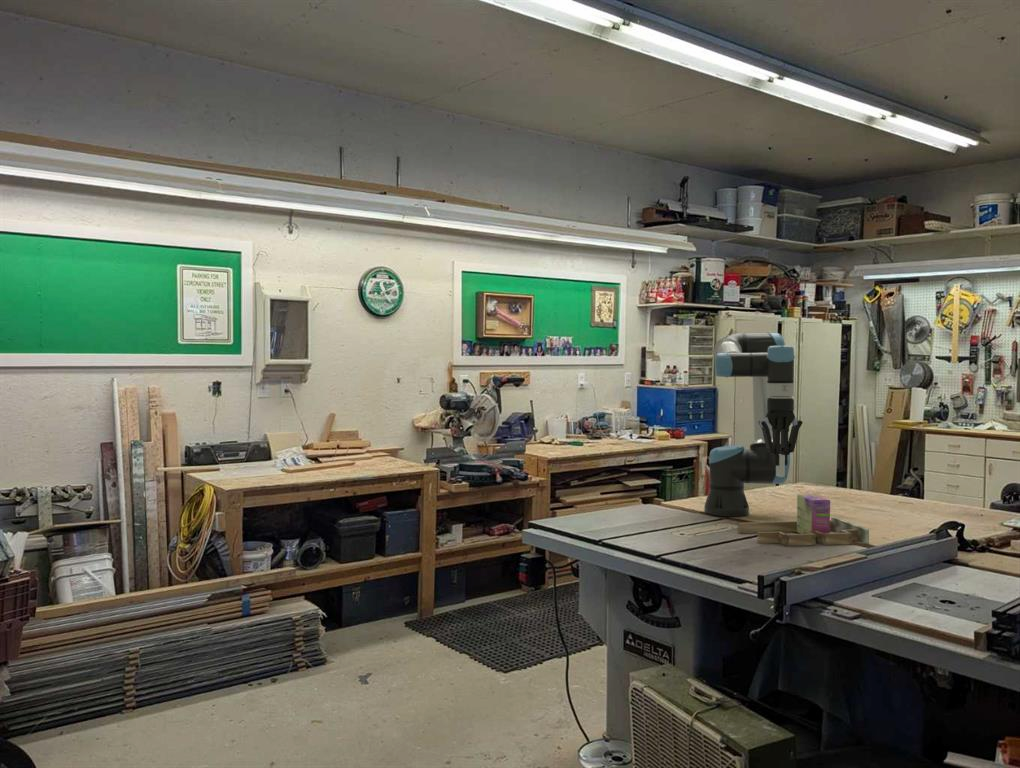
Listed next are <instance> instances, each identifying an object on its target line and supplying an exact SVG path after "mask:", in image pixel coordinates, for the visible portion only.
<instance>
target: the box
mask: <svg viewBox="0 0 1020 768" xmlns="http://www.w3.org/2000/svg"><path fill="white" fill-rule="evenodd" d="M796 502H797V503H796V521H797V532H796V533H797V534H804V531H819V532H822V533H831V531H830V520H831V500H830V499H827V498H825V497H823V496H819V495H817V494H814V493H813V494H812V493H807V494H806V493H805V494H804V493H801V494H799V493H798V494H797V496H796Z"/></svg>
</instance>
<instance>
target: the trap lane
mask: <svg viewBox="0 0 1020 768" xmlns="http://www.w3.org/2000/svg"><path fill="white" fill-rule="evenodd" d="M737 523H738V524H737V528H738V529H737V532H738V533H737V534H753V533H754V534H755V533H756V535H757V536H756V537H757V543H758V544H777V543H779V544H781V545H782V546H785V547H787V546H788V547H790V546H792V547H794V546H796V547H797V546H816V545H817V544H820V545H823V546H824V545H825V546H826V545H829V546H831V545H853V541H858V542H861V543H863V542H864V543H863V544H869V543H870V529H869V528H866V527H863V526H860V525H857V524H855V523H852V522H850V521H846V520H845V519H844V520H843V519H841V518H838V517H836V516H830V533H822V532H819V531H804V534H800V533H798V532H797V520H796V521H795V520H793V521H788V520H787V521H761V522H760V521H754V522H753V521H751V522H749V521H748V522H737ZM832 531H833V532H832ZM789 532H791V534H787V533H789ZM792 532H793V534H792ZM794 532H796V533H795V534H794ZM816 543H817V544H816Z"/></svg>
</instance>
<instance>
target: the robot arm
mask: <svg viewBox="0 0 1020 768" xmlns="http://www.w3.org/2000/svg"><path fill="white" fill-rule="evenodd" d="M794 350H795V349H794V347H793V346H792V345H786V343H785V339H784V337H783V335H782V334H780V333H778V332H777V333H776V332H757V333H756V332H752V333H751V332H750V333H749V332H748V333H747V332H746V333H741V332H740V333H733V334H729V335H727V336H724V337H722V338H720V339H719V340H718V341H717V342H715V344H714V347H713V357H714V370H715V375H716V376H717V377H722V378H723V377H724V378H740V377H741V378H743V377H747V378H748V377H750V378H751V377H752V401H753V403H752V405H753V408H752V409H753V438H754V439H753V441H752V442H751V443H750V444H749V449H745V447H744V445H741V444H739V445H737V444H736V445H726V446H725V445H724V446H718V447H714V448H713V449H711V450H710V452H709V458H708V459H709V461H708V464H709V478H708V479H709V480H708V481H709V487H708V488H709V489H708V490H709V491H708V494H707V496H706V500H705V503H704V505H703V511H704V513H705V514H707V515H708V514H709V515H712V516H718V517H719V516H721V517H743V516H747V515H749V514H750V506H749V502H748V500H747V497H746V494H745V484H761V485H762V484H763V485H766V484H768V485H779V484H780V485H782V484H785V483H786V481H787V480H788V476H789V471H790V464H791V453H794V452H795V447H796V444H797V440H798V436H799V432H800V431H799V430H800V428H801V427H802V425H803V420H799V419H798V418H796V415H795V413H794V410H795V399H794V398H792V397H794V395H795V371H794V370H795V359H796V357H795V351H794ZM791 425H792V426H791ZM790 427H791V429H790Z"/></svg>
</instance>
